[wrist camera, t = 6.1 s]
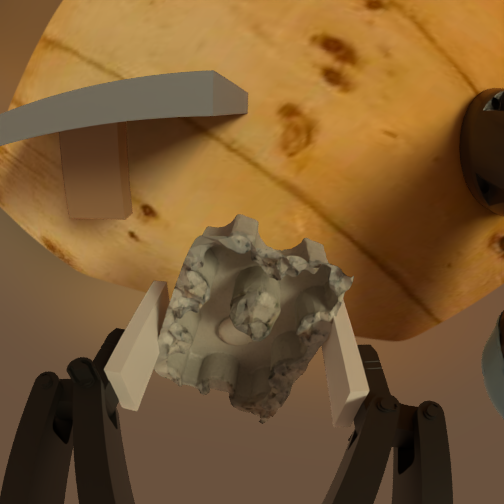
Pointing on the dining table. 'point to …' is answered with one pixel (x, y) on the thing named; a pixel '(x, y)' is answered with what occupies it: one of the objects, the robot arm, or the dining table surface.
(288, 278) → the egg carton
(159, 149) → the dining table surface
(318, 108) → the dining table surface
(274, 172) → the dining table surface
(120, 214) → the wall board
